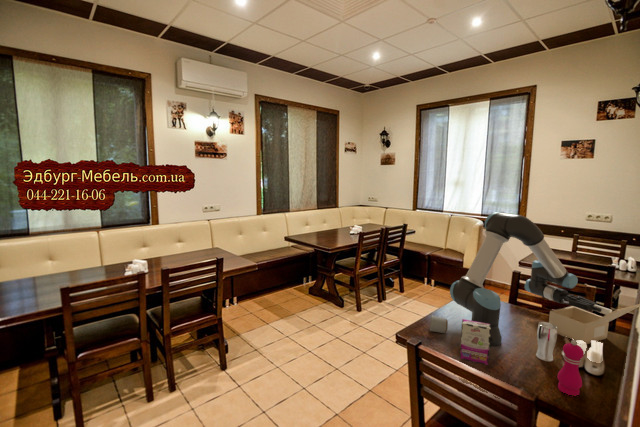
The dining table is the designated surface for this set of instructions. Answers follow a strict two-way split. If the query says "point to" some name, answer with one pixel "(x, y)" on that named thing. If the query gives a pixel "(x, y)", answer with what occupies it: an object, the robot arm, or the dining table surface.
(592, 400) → the dining table surface
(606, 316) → the carton lid
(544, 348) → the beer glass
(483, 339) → the candy bar box
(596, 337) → the carton
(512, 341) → the dining table surface
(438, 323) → the grey rounded block
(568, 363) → the pepper mill
